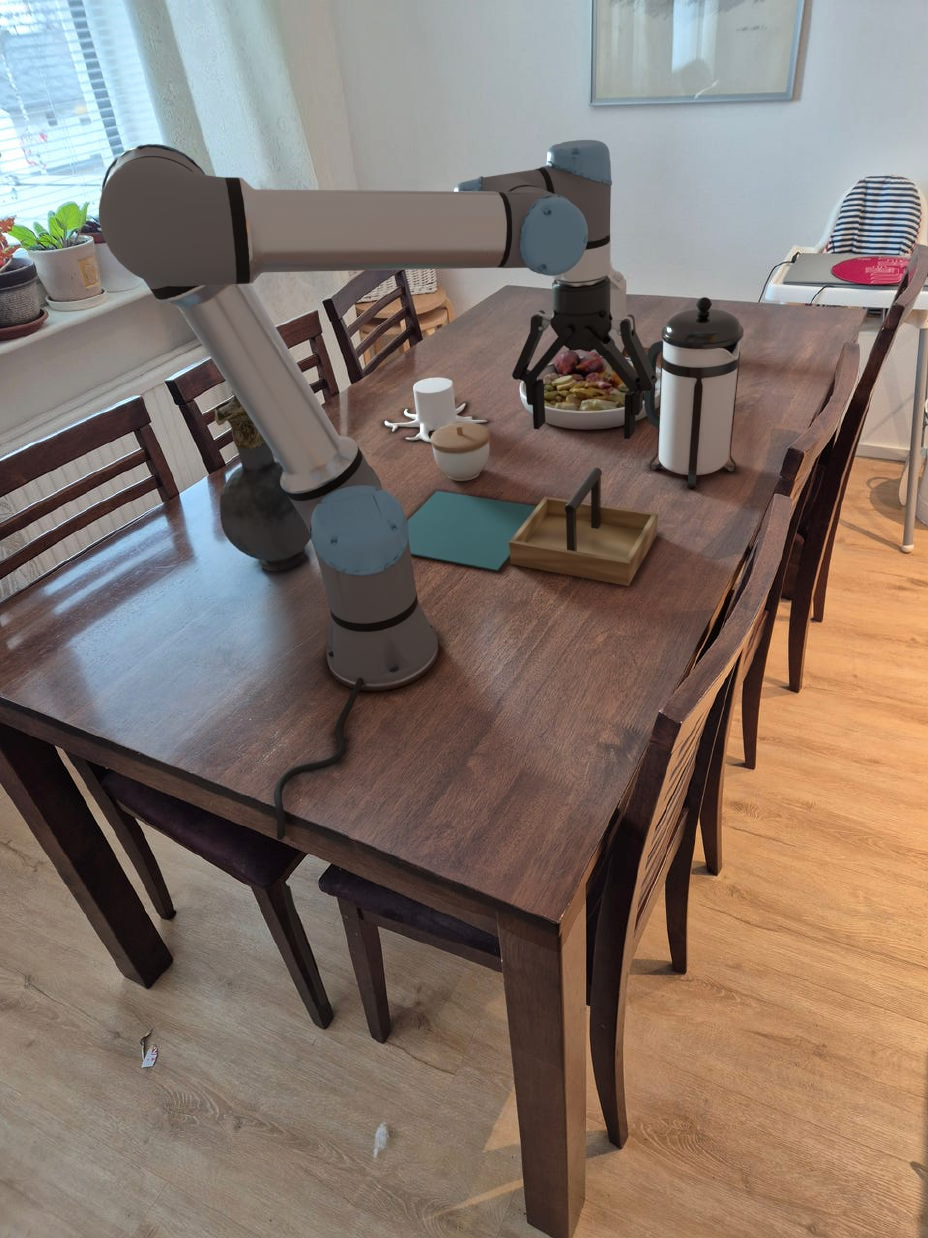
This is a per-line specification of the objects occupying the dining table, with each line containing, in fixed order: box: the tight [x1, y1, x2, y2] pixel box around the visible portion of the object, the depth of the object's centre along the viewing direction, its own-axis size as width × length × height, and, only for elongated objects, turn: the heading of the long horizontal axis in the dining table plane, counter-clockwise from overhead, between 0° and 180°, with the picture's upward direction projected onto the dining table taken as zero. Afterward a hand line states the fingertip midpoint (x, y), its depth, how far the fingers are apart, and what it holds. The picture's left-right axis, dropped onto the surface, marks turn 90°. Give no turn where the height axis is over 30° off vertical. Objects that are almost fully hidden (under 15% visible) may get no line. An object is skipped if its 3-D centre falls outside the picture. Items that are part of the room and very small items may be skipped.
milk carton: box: [591, 261, 627, 356], centre depth 198 cm, size 7×7×19 cm
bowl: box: [519, 349, 662, 431], centre depth 177 cm, size 30×30×8 cm
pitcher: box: [213, 390, 311, 572], centre depth 134 cm, size 11×19×30 cm, turn 156°
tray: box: [509, 467, 659, 587], centre depth 132 cm, size 15×19×11 cm
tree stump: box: [384, 377, 488, 444], centre depth 177 cm, size 20×19×8 cm
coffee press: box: [644, 296, 745, 489], centre depth 145 cm, size 17×16×30 cm
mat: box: [407, 490, 538, 572], centre depth 144 cm, size 20×21×1 cm
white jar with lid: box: [430, 423, 491, 482], centre depth 157 cm, size 11×11×9 cm
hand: (583, 430), depth 124 cm, fingers open, 13 cm apart
